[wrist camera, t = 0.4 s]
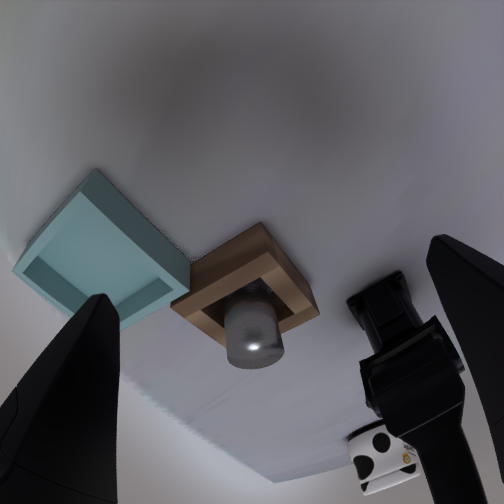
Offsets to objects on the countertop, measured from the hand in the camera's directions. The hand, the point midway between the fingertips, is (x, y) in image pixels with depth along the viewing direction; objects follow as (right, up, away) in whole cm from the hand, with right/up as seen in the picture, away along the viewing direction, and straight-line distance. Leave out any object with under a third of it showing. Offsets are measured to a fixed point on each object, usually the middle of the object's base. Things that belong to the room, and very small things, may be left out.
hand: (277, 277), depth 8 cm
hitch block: (-1, -2, +19) cm, 19 cm away
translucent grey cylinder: (-1, -2, +19) cm, 19 cm away
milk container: (+32, -45, +60) cm, 82 cm away
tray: (-13, +1, +15) cm, 20 cm away
